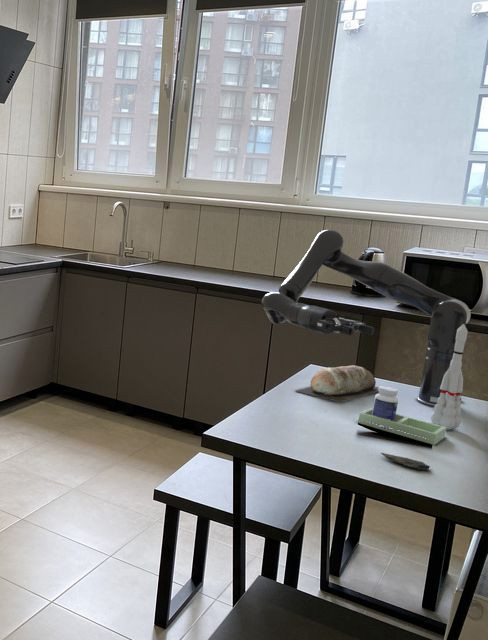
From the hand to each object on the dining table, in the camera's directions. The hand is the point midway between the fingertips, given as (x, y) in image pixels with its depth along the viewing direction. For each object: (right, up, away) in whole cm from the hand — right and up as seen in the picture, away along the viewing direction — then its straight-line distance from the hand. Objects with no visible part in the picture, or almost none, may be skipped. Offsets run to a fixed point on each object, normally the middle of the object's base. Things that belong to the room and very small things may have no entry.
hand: (362, 331), depth 213 cm
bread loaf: (+7, -21, +26) cm, 34 cm away
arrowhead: (-9, -29, -36) cm, 47 cm away
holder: (+6, -26, -9) cm, 29 cm away
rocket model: (+21, -27, -4) cm, 35 cm away
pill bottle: (+2, -25, -6) cm, 26 cm away
